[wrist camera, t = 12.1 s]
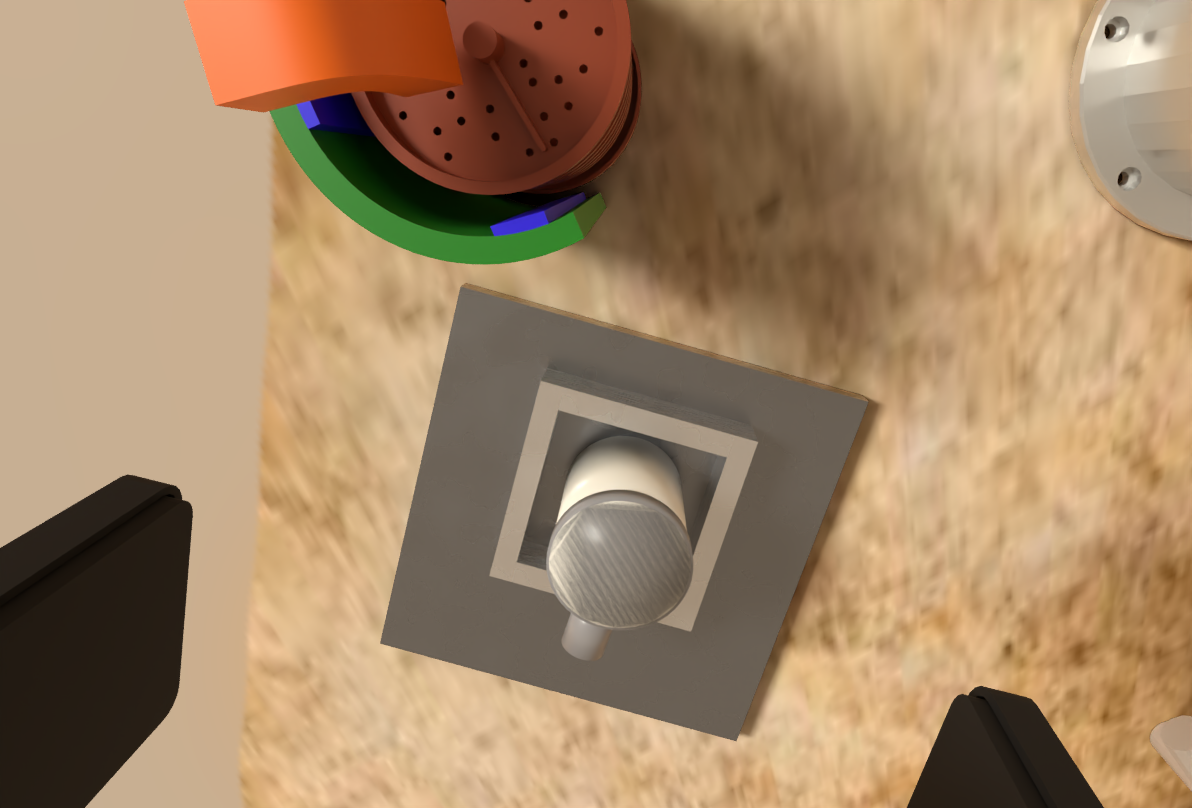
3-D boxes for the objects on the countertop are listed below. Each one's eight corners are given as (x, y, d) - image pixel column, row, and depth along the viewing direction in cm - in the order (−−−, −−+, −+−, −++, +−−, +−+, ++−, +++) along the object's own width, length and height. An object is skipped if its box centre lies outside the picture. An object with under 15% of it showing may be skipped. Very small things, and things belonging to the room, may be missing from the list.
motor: (679, 179, 34) (717, 202, 15) (482, 257, 35) (286, 370, 16) (589, -77, 32) (497, -442, 12) (381, 18, 33) (12, -180, 14)
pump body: (700, 455, 36) (714, 524, 30) (644, 601, 39) (645, 696, 32) (583, 417, 36) (570, 479, 29) (534, 567, 38) (511, 655, 32)
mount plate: (862, 395, 36) (882, 417, 33) (734, 727, 41) (741, 773, 38) (465, 283, 36) (448, 294, 33) (386, 632, 41) (365, 670, 38)
